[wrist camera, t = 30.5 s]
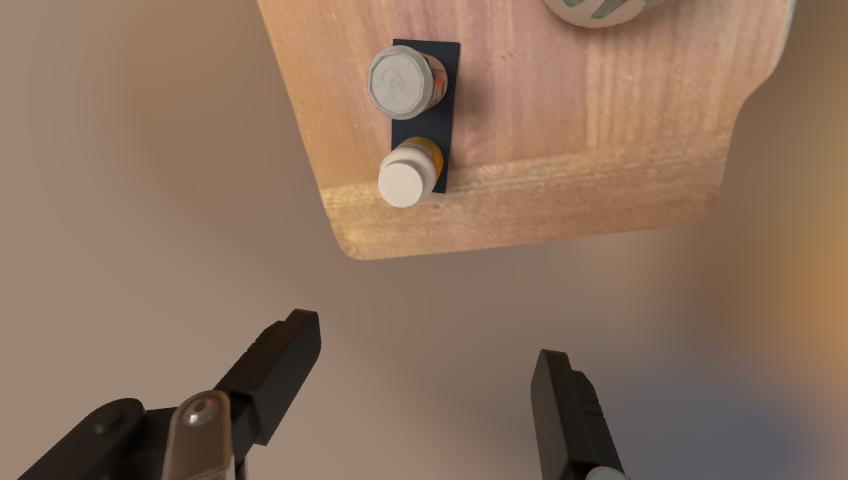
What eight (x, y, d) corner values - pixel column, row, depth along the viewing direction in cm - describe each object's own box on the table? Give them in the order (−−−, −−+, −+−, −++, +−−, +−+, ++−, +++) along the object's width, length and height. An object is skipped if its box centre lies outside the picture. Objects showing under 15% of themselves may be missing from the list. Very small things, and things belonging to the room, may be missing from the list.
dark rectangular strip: (394, 39, 32) (393, 38, 32) (459, 43, 32) (458, 42, 31) (391, 186, 39) (390, 187, 39) (445, 192, 38) (444, 193, 38)
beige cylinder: (424, 117, 35) (397, 135, 24) (391, 82, 34) (348, 84, 23) (457, 82, 33) (445, 84, 22) (424, 43, 32) (394, 25, 21)
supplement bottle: (431, 192, 38) (416, 225, 29) (389, 171, 38) (361, 199, 29) (451, 149, 36) (441, 172, 27) (406, 127, 35) (382, 143, 27)
